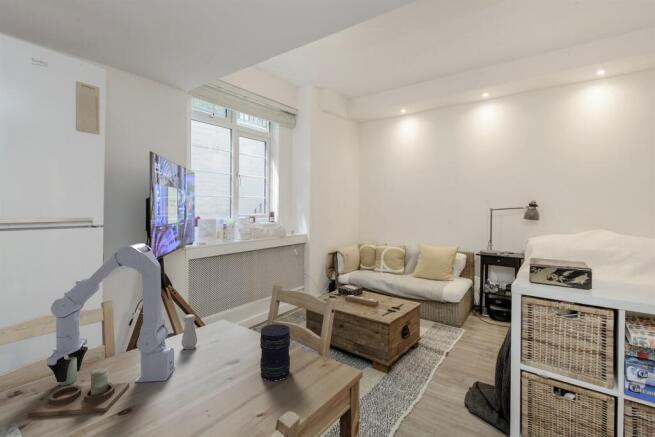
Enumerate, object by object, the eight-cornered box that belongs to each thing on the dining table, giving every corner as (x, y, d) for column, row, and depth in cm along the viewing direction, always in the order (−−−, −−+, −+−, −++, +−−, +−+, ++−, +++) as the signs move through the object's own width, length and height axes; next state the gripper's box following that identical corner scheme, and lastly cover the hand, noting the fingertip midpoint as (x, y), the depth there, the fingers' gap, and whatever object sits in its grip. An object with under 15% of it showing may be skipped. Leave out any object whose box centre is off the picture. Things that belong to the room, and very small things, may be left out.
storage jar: (263, 384, 96) (263, 337, 95) (257, 369, 105) (257, 326, 104) (293, 377, 100) (294, 332, 99) (285, 363, 109) (285, 322, 108)
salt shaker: (191, 351, 117) (190, 318, 117) (178, 350, 119) (177, 317, 118) (200, 345, 123) (200, 313, 123) (187, 344, 124) (187, 312, 124)
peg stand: (129, 386, 94) (129, 360, 94) (105, 412, 82) (105, 382, 82) (62, 390, 92) (61, 363, 92) (27, 417, 80) (27, 386, 80)
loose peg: (80, 377, 99) (79, 356, 99) (71, 384, 95) (70, 362, 95) (66, 378, 98) (66, 357, 98) (57, 385, 94) (56, 363, 94)
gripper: (70, 325, 103) (71, 365, 103) (35, 344, 89) (35, 390, 89) (93, 325, 104) (93, 364, 104) (61, 343, 89) (62, 388, 90)
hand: (68, 376), depth 97 cm, fingers open, 5 cm apart
